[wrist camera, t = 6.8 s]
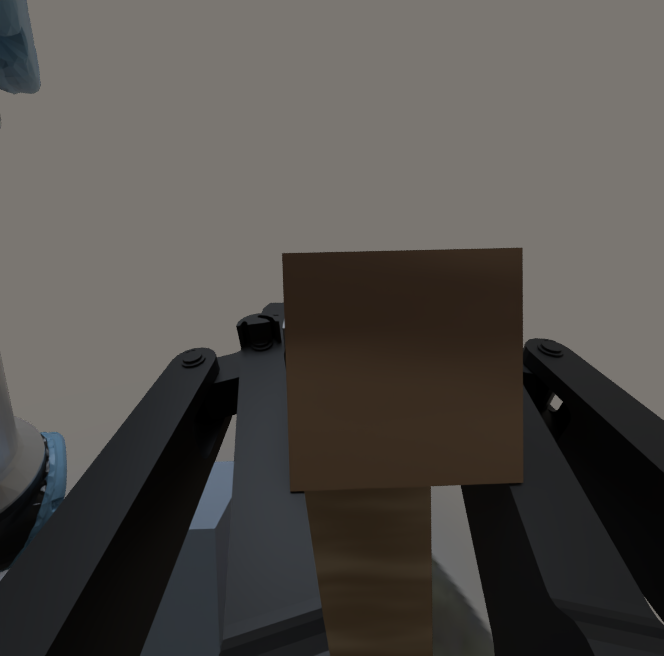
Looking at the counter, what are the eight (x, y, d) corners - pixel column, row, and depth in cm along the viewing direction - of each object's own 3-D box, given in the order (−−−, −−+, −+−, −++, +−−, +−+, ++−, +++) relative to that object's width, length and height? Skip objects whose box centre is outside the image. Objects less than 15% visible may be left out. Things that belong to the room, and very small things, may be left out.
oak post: (435, 917, 16) (428, 333, 15) (293, 927, 16) (275, 337, 15) (384, 637, 30) (378, 326, 29) (308, 641, 30) (300, 328, 29)
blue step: (224, 763, 22) (215, 528, 21) (91, 771, 21) (78, 533, 21) (256, 623, 32) (250, 460, 31) (165, 627, 31) (158, 463, 31)
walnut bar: (523, 482, 5) (522, 247, 5) (290, 491, 5) (282, 253, 5) (359, 346, 29) (358, 306, 29) (320, 347, 29) (319, 307, 29)
